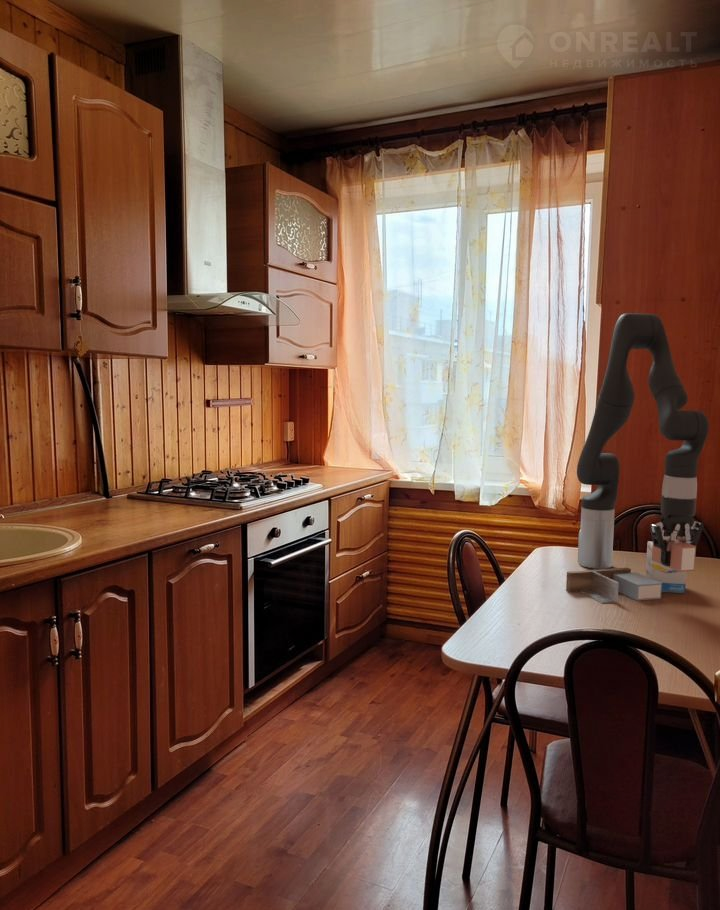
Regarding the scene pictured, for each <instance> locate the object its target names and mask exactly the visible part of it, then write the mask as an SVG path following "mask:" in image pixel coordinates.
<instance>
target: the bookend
mask: <svg viewBox="0 0 720 910" xmlns="http://www.w3.org/2000/svg"><path fill="white" fill-rule="evenodd" d="M618 586H619V582H617V581H614V580H612V579H610V578H608V577H606V576H604V575H601V574H599V573H597V572H592V588H591V589H586V590H579V593H582V594H583V595H585V596H587V597H589V598H591V599H593V600H595V601H597V602H599V603H601V604H612V603H613V604H614V603H618V602H619V592H618Z"/></svg>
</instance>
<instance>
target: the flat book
mask: <svg viewBox="0 0 720 910" xmlns="http://www.w3.org/2000/svg"><path fill="white" fill-rule="evenodd" d="M613 580H614V581H617V582H619V586H618V593H621V594H623V595H624V596H627V597H629V598H631V599H632V600H635V601H647V600H660V599H662V592H661V590H662V583H661V582H658V581H656V580H653V579H651V578H649V577H646V576H645V575H644V574H641V573H639V572H635V571H633V572H631V573H620V574H613Z"/></svg>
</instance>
